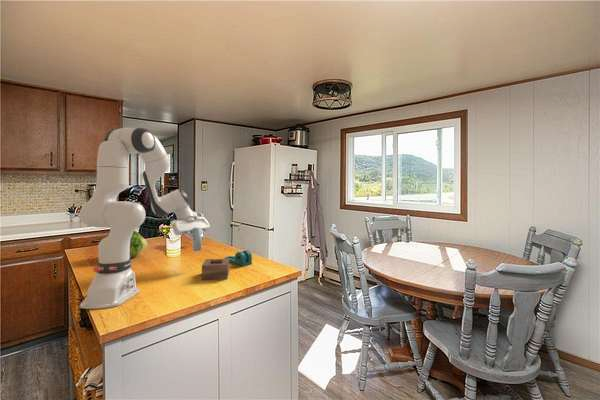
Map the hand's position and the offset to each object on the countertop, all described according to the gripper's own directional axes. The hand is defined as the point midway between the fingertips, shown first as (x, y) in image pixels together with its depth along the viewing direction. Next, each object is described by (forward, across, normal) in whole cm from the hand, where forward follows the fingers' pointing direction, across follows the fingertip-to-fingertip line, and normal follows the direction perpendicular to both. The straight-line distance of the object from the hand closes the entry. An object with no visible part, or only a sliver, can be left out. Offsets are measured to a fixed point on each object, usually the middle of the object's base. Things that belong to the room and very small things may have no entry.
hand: (197, 238), depth 157 cm
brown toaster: (+23, 0, +2) cm, 23 cm away
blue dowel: (+4, 0, +5) cm, 6 cm away
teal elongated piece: (+16, +23, +9) cm, 29 cm away
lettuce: (-27, -12, +51) cm, 59 cm away
